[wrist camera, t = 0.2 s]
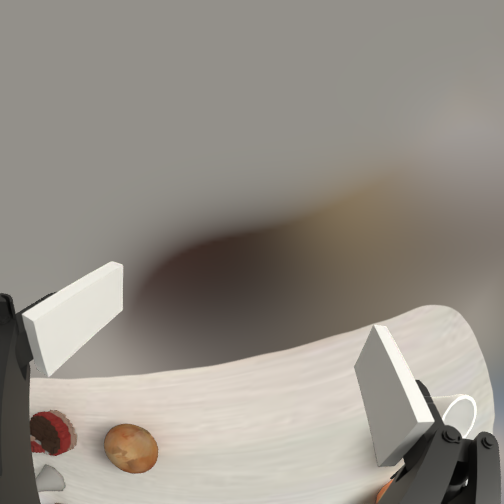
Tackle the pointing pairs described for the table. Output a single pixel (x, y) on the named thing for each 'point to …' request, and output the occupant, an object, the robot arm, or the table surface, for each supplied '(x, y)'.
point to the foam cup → (457, 411)
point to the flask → (50, 480)
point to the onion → (131, 448)
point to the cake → (51, 433)
